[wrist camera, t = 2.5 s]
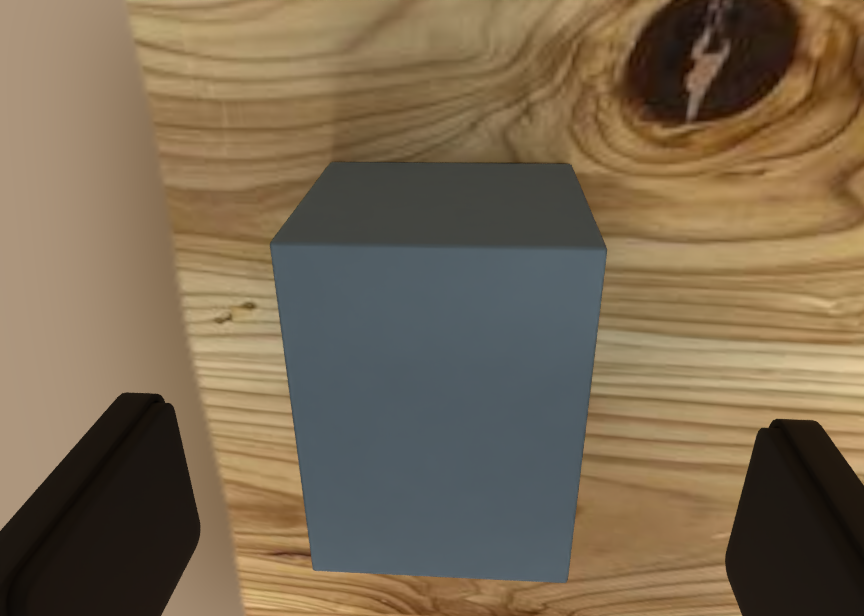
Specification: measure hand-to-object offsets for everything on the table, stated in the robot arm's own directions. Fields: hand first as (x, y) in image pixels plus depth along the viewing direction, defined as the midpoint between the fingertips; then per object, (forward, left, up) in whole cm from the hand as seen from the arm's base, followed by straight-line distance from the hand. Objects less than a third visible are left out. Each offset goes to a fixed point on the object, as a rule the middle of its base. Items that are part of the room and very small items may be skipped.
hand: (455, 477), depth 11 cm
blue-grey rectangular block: (0, 0, -5) cm, 5 cm away
